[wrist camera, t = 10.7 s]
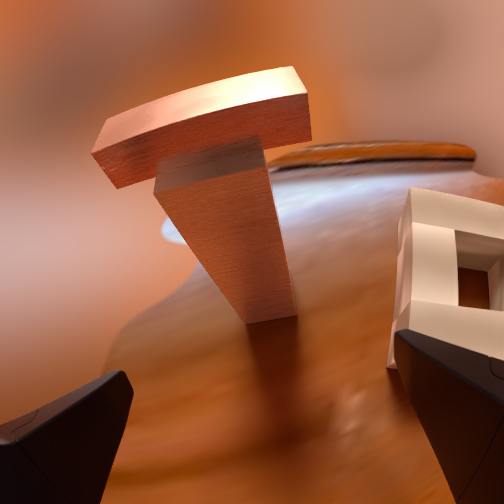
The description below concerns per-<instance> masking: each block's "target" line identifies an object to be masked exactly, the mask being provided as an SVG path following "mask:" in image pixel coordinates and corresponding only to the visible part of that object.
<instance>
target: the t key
mask: <svg viewBox="0 0 504 504" xmlns="http://www.w3.org/2000/svg"><path fill="white" fill-rule="evenodd" d="M307 141H312V136H311V124H310V114H309V104H308V95H307V91H306V89H305V87H304V86H303V84H302V82H301V81H300V79H299V77H298V75H297V74H296V72H295V70H294V68H293V67H292V66H290V67H282V68H276V69H271V70H265V71H260V72H255V73H250V74H246V75H241V76H237V77H233V78H228V79H224V80H220V81H217V82H212V83H209V84H205V85H202V86H198V87H194V88H191V89H188V90H184V91H181V92H178V93H175V94H172V95H169V96H166V97H163V98H160V99H157V100H154V101H152V102H149V103H146V104H143V105H141V106H138V107H136V108H133V109H131V110H128V111H125V112H123V113H121V114H118V115H116V116H113V117H111V118H109V119H107V120H106V122H105V124H104V126H103V128H102V130H101V132H100V134H99V136H98V139H97V141H96V143H95V145H94V148H93V150H92V152H91V154H92V156H93V157H94V159H95V160H96V161H97V163H98V164H99V166H100V167H101V168H102V170H103V171H104V172H105V174H106V175H107V176H108V178H109V179H110V180H111V182H112V183H113V184H114V186H115V187H116V188H117V189H119V188H122V187H125V186H128V185H132V184H134V183H138V182H141V181H144V180H147V179H151V178H154V177H156V181H155V186H154V193H153V194H154V196H155V197H156V199H157V200H158V202H159V203H160V205H161V206H162V208H163V209H164V210H165V212H166V214H167V215H168V216H169V218H170V219H171V221H172V222H173V224H174V225H175V227H176V228H177V230H178V231H179V233H180V234H181V235H182V237H183V238H184V240H185V241H186V243H187V244H188V246H189V247H190V248H191V250H192V251H193V253H194V254H195V255H196V257H197V258H198V260H199V261H200V263H201V264H202V265H203V267H204V268H205V270H206V271H207V272H208V274H209V275H210V276H211V278H212V279H213V281H214V282H215V283H216V285H217V286H218V287H219V289H220V290H221V292H222V293H223V294H224V296H225V297H226V298H227V300H228V301H229V302H230V304H231V305H232V306H233V308H234V309H235V310H236V312H237V313H238V314H239V316H240V317H241V318H242V320H243V321H244V322H245V324H249V323H255V322H261V321H267V320H273V319H279V318H285V317H290V316H296V315H297V310H296V304H295V298H294V293H293V287H292V282H291V276H290V271H289V265H288V260H287V255H286V250H285V245H284V241H283V236H282V231H281V226H280V221H279V217H278V212H277V207H276V202H275V198H274V193H273V189H272V184H271V180H270V175H269V171H268V166H267V162H266V158H265V153H264V150H265V149H269V148H275V147H279V146H285V145H290V144H296V143H302V142H307Z"/></svg>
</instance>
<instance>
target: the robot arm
mask: <svg viewBox="0 0 504 504" xmlns="http://www.w3.org/2000/svg"><path fill="white" fill-rule="evenodd" d="M394 360H395V363H396V365H397V368H398V371H399V373H400V376H401V379H402V382H403V384H404V387H405V390H406V393H407V395H408V398H409V400H410V402H411V404H412V406H413V408H414V410H415V412H416V414H417V416H418V418H419V420H420V422H421V425H422V427H423V429H424V431H425V433H426V435H427V437H428V439H429V441H430V444H431V446H432V448H433V450H434V452H435V455H436V457H437V459H438V461H439V464H440V466H441V468H442V470H443V473H444V475H445V478H446V480H447V482H448V485H449V487H450V490H451V492H452V494H453V497H454V500H455V502H456V503H457V504H504V360H501V359H498V358H495V357H491V356H490V357H489V356H488V355H485V354H482V353H479V352H476V351H473V350H470V349H467V348H464V347H461V346H458V345H455V344H452V343H449V342H446V341H443V340H440V339H437V338H434V337H431V336H428V335H425V334H422V333H419V332H416V331H413V330H410V329H407V328H405V329H402V330H398V331H396V332H395V333H394ZM133 395H134V392H133V388H132V386H131V384H130V382H129V380H128V378H127V375H126V374H125V372H124V371H122V370H113V371H111V372H109V373H107V374H105V375H103V376H101V377H99V378H97V379H95V380H94V381H92V382H90V383H88V384H86V385H84V386H82V387H80V388H78V389H76V390H74V391H72V392H70V393H68V394H66V395H64V396H62V397H60V398H58V399H56V400H54V401H52V402H50V403H48V404H46V405H44V406H42V407H40V409H39V408H38V409H36V410H34V411H32V412H30V413H28V414H25V415H23V416H21V417H19V418H16V419H14V420H11V421H9V422H7V423H4V424H1V425H0V504H100V502H101V499H102V496H103V493H104V490H105V486H106V483H107V480H108V477H109V474H110V471H111V468H112V465H113V462H114V459H115V456H116V453H117V450H118V447H119V445H120V442H121V439H122V436H123V433H124V430H125V427H126V423H127V419H128V415H129V411H130V407H131V403H132V399H133Z"/></svg>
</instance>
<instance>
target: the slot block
mask: <svg viewBox="0 0 504 504" xmlns="http://www.w3.org/2000/svg"><path fill="white" fill-rule="evenodd" d="M457 267H462V268H468V269H474V270H480V271H486V272H488V284H489V302H490V310H486V309H478V308H470V307H462V306H458V271H457ZM405 328H407V329H410V330H413V331H416V332H419V333H422V334H425V335H428V336H431V337H434V338H437V339H440V340H443V341H446V342H449V343H452V344H455V345H458V346H461V347H464V348H467V349H470V350H473V351H476V352H479V353H482V354H485V355H488V356H489V357H490V356H491V357H495V358H498V359H501V360H504V206H500V205H496V204H492V203H488V202H484V201H479V200H475V199H471V198H466V197H462V196H457V195H452V194H447V193H442V192H437V191H432V190H426V189H421V188H415V187H410V189H409V193H408V196H407V199H406V203H405V206H404V209H403V212H402V215H401V218H400V221H399V224H398V263H397V281H396V294H395V306H394V315H393V324H392V332H391V340H390V347H389V354H388V360H387V366H386V368H394V369H398V368H397V365H396V363H395V360H394V333H395V332H396V331H398V330H402V329H405Z"/></svg>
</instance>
